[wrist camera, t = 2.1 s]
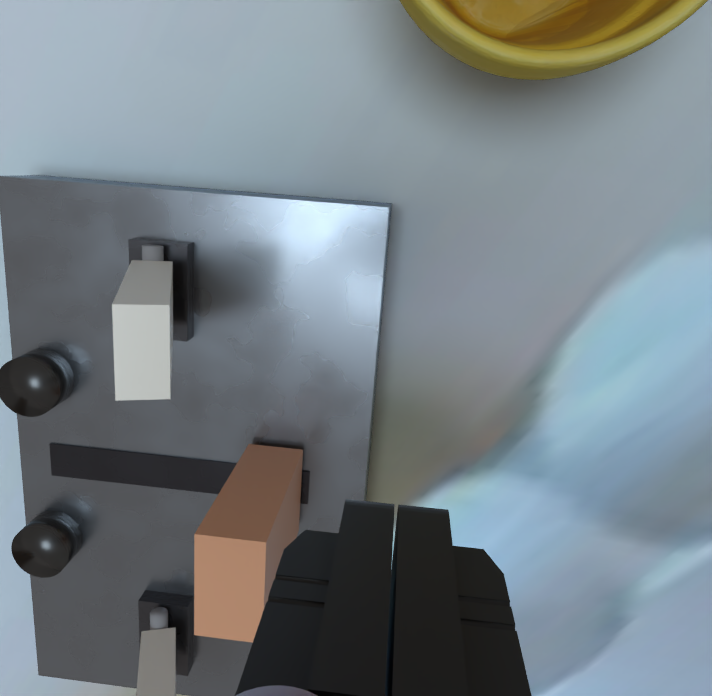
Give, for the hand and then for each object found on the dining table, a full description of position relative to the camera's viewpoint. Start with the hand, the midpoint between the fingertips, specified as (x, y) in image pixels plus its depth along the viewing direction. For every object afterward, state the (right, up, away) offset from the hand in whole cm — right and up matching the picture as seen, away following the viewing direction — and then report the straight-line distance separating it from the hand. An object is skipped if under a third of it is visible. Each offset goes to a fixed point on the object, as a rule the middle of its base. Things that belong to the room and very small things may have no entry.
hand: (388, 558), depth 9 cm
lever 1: (-9, +5, +16) cm, 19 cm away
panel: (-8, -2, +22) cm, 24 cm away
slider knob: (-4, -3, +19) cm, 19 cm away
